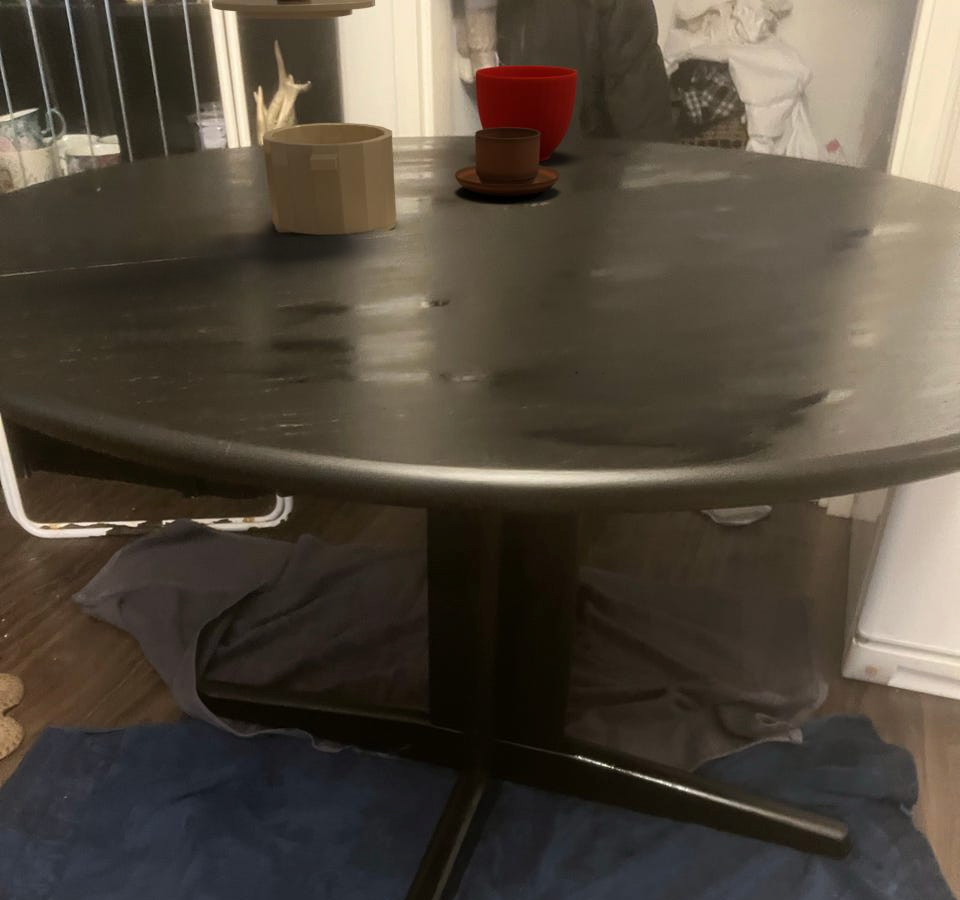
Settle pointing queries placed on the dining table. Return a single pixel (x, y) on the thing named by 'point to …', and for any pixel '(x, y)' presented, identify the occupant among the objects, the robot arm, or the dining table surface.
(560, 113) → the ceramic cup
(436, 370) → the dining table surface
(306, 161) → the pot
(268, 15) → the lid
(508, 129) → the cup and saucer
